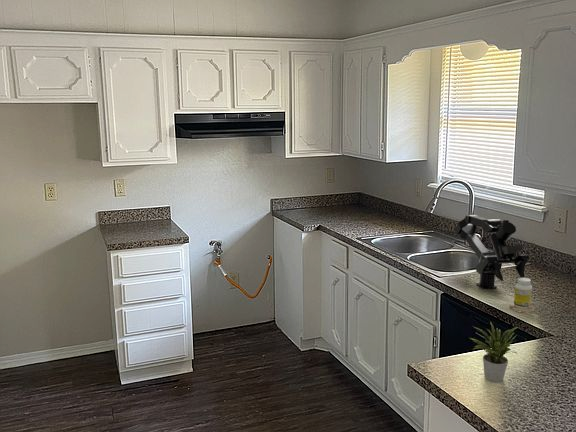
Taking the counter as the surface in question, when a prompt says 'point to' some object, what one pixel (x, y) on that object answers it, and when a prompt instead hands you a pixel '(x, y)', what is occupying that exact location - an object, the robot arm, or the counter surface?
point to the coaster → (522, 309)
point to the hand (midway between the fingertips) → (512, 280)
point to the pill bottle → (523, 293)
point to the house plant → (495, 354)
